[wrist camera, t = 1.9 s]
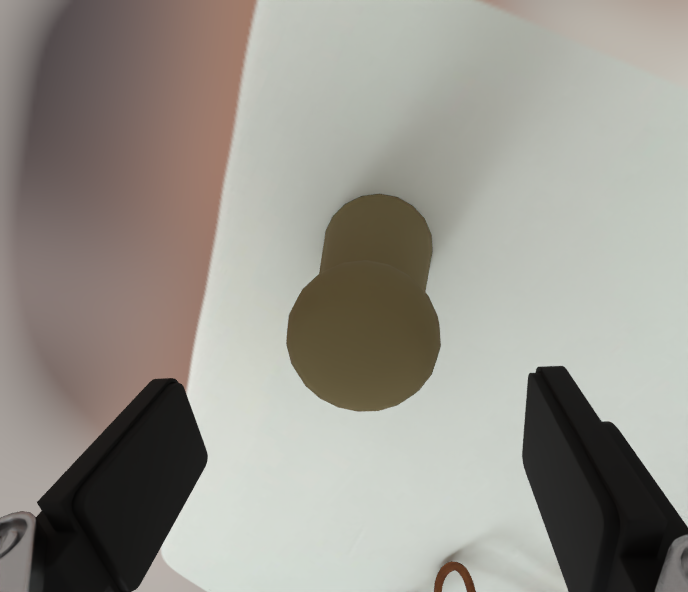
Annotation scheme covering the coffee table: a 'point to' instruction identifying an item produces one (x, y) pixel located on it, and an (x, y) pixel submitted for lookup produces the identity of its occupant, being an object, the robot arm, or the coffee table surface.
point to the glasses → (449, 568)
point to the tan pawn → (368, 308)
